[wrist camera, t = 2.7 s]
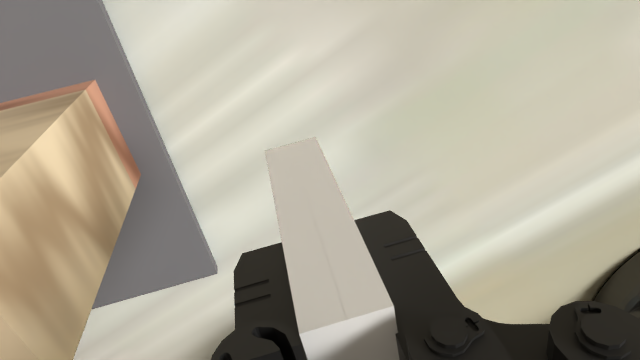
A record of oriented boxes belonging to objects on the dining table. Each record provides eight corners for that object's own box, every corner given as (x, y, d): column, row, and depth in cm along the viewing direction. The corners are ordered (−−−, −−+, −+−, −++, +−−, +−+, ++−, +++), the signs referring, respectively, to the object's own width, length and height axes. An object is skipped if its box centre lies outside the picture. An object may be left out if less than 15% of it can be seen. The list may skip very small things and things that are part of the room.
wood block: (141, 174, 21) (62, 387, 11) (41, 200, 21) (-134, 445, 11) (95, 79, 19) (-62, 242, 9) (-19, 107, 19) (-325, 312, 8)
